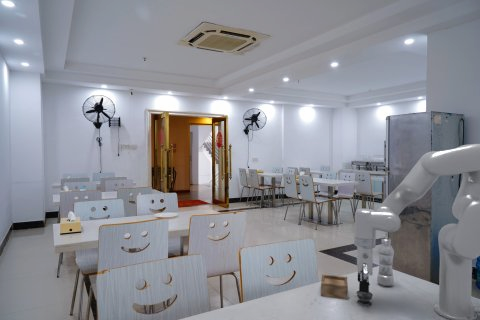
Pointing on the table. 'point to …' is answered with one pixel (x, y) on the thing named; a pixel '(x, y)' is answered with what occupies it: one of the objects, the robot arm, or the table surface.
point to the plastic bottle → (385, 263)
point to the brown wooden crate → (334, 286)
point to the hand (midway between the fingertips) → (362, 286)
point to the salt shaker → (364, 298)
